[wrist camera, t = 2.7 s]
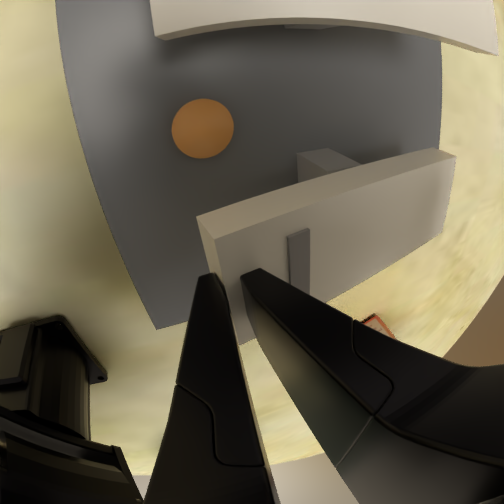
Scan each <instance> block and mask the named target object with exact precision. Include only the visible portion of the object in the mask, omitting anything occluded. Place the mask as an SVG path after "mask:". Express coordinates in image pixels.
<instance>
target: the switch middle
mask: <svg viewBox="0 0 504 504" xmlns="http://www.w3.org/2000/svg"><path fill="white" fill-rule="evenodd" d="M150 6H151V14H152V21H153V28H154V34H155V37H158V38H160V39H162V40H165V41H166V40H170V39H174V38H179V37H184V36H188V35H194V34H199V33H205V32H211V31H217V30H224V29H232V28H240V27H250V26H263V25H281V24H324V25H342V26H355V27H365V28H373V29H380V30H387V31H393V32H399V33H405V34H410V35H415V36H419V37H424V38H428V39H432V40H436V41H440V42H444V43H447V44H451V45H454V46H458V47H461V48H464V49H467V50H470V51H473V52H477V53H484V54H490V55H495V56H499V52H498V37H497V27H496V19H495V11H494V5H493V0H150Z"/></svg>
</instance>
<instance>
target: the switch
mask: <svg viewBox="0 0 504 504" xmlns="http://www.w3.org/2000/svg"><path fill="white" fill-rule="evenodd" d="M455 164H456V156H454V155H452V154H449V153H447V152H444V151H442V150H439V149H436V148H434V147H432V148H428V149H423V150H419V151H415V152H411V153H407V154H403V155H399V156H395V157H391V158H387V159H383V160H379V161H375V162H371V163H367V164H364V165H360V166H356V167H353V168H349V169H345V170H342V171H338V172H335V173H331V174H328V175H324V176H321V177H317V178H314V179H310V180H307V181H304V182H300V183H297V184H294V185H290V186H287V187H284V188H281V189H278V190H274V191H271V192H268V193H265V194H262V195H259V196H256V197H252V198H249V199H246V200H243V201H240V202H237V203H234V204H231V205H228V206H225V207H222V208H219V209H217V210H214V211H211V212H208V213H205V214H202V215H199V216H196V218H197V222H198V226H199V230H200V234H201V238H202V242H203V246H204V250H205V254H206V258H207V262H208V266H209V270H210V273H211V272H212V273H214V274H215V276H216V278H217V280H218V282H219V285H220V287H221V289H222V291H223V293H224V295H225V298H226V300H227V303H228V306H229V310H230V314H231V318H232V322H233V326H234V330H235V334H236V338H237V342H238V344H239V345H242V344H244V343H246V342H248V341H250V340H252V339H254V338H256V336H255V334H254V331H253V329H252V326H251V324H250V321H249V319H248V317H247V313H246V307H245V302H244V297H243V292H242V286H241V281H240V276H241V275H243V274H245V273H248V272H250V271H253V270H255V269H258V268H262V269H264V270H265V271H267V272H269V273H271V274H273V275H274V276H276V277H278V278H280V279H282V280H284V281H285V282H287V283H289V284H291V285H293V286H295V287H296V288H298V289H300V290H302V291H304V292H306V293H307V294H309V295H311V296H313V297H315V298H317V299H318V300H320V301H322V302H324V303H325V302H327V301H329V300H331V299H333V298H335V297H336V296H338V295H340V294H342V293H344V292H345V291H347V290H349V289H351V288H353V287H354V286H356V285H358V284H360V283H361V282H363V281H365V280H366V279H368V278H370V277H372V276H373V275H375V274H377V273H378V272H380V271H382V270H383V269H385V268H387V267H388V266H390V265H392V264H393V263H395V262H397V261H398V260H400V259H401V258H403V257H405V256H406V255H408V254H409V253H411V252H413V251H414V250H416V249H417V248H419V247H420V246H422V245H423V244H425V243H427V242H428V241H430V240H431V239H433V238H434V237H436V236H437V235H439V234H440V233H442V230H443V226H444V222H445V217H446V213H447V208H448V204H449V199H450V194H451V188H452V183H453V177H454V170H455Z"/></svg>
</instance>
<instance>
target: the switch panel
mask: <svg viewBox="0 0 504 504" xmlns="http://www.w3.org/2000/svg"><path fill="white" fill-rule="evenodd" d="M55 2H56V15H57V25H58V34H59V41H60V49H61V55H62V61H63V67H64V73H65V78H66V83H67V88H68V93H69V97H70V102H71V106H72V110H73V115H74V119H75V123H76V127H77V130H78V134H79V138H80V141H81V145H82V148H83V152H84V155H85V158H86V162H87V165H88V168H89V171H90V174H91V177H92V181H93V184H94V186H95V189H96V192H97V195H98V198H99V201H100V204H101V206H102V209H103V212H104V214H105V217H106V220H107V222H108V225H109V228H110V230H111V233H112V235H113V238H114V240H115V242H116V245H117V247H118V250H119V252H120V254H121V257H122V259H123V261H124V264H125V266H126V268H127V270H128V273H129V275H130V277H131V279H132V281H133V284H134V286H135V288H136V290H137V292H138V294H139V296H140V298H141V300H142V302H143V305H144V307H145V309H146V311H147V313H148V315H149V317H150V318H151V320H152V322H153V324H154V326H155V328H156V330H158V329H162V328H165V327H169V326H172V325H176V324H179V323H183V322H186V321H188V319H189V315H190V310H191V306H192V301H193V297H194V293H195V288H196V284H197V280H198V277H199V276H201V275H204V274H207V273H210V270H209V266H208V262H207V258H206V254H205V250H204V246H203V242H202V238H201V234H200V230H199V226H198V222H197V218H196V216H199V215H202V214H205V213H208V212H211V211H214V210H217V209H219V208H222V207H225V206H228V205H231V204H234V203H237V202H240V201H243V200H246V199H249V198H252V197H256V196H259V195H262V194H265V193H268V192H271V191H274V190H278V189H281V188H284V187H287V186H290V185H294V184H297V183H300V182H304V181H307V180H310V179H314V178H317V177H321V176H324V175H328V174H331V173H335V172H338V171H342V170H345V169H349V168H353V167H356V166H360V165H364V164H367V163H371V162H375V161H379V160H383V159H387V158H391V157H395V156H399V155H403V154H407V153H411V152H415V151H419V150H423V149H428V148H432V147H434V148H436V149H439V140H440V127H441V109H442V57H441V42H440V41H436V40H432V39H428V38H424V37H419V36H415V35H410V34H405V33H399V32H393V31H387V30H380V29H373V28H365V27H355V26H342V25H324V24H281V25H263V26H250V27H240V28H232V29H224V30H217V31H211V32H205V33H199V34H194V35H188V36H184V37H179V38H174V39H170V40H166V41H165V40H162V39H160V38H158V37H155V34H154V28H153V21H152V14H151V6H150V0H55Z"/></svg>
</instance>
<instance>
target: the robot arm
mask: <svg viewBox="0 0 504 504" xmlns="http://www.w3.org/2000/svg"><path fill="white" fill-rule="evenodd" d="M240 281H241V286H242V292H243V297H244V302H245V307H246V313H247V317H248V319H249V321H250V324H251V326H252V329H253V331H254V334H255V336H256V338H257V341H258V343H259V345H260V347H261V348H262V350H263V352H264V354H265V355H266V357H267V359H268V361H269V362H270V364H271V366H272V367H273V369H274V371H275V372H276V374H277V376H278V377H279V379H280V381H281V382H282V384H283V386H284V387H285V389H286V391H287V392H288V394H289V396H290V397H291V399H292V400H293V402H294V404H295V405H296V407H297V409H298V410H299V412H300V413H301V415H302V417H303V418H304V420H305V421H306V423H307V425H308V426H309V428H310V429H311V431H312V433H313V434H314V436H315V437H316V439H317V440H318V442H319V444H320V445H321V447H322V448H323V450H324V451H325V453H326V454H327V456H328V458H329V459H330V460H331V462H332V463H333V465H334V467H335V468H336V470H337V471H338V473H339V474H340V476H341V477H342V479H343V480H344V482H345V483H346V485H347V486H348V488H349V489H350V490H351V492H352V494H353V495H354V497H355V498H356V499H357V501H358V502H359V504H504V364H500V365H493V366H483V367H474V366H466V365H461V364H457V363H454V362H451V361H448V360H446V359H443V358H441V357H438V356H436V355H433V354H431V353H428V352H425V351H423V350H420V349H418V348H415V347H413V346H410V345H408V344H405V343H403V342H401V341H398V340H396V339H394V338H391V337H389V336H387V335H385V334H383V333H381V332H379V331H377V330H375V329H373V328H371V327H369V326H367V325H365V324H363V323H361V322H359V321H358V320H356V319H355V320H353V318H352V317H350V316H348V315H346V314H344V313H342V312H341V311H339V310H337V309H335V308H333V307H331V306H330V305H328V304H326V303H324V302H322V301H320V300H318V299H317V298H315V297H313V296H311V295H309V294H307V293H306V292H304V291H302V290H300V289H298V288H296V287H295V286H293V285H291V284H289V283H287V282H285V281H284V280H282V279H280V278H278V277H276V276H274V275H273V274H271V273H269V272H267V271H265V270H264V269H262V268H258V269H255V270H253V271H250V272H248V273H245V274H243V275H241V276H240ZM59 324H61V325H59ZM107 379H108V377H107V372H106V371H105V370H104V369H103V367H102V366H101V365H100V364H99V363H98V361H97V360H96V359H95V358H94V356H93V355H92V354H91V353H90V351H89V350H88V349H87V348H86V346H85V345H84V344H83V342H82V341H81V340H80V338H79V337H78V336H77V334H76V333H75V332H74V330H73V329H72V327H71V326H70V325H69V323H68V322H67V320H66V319H65V318H63V317H61V316H54V317H51V318H47V319H44V320H40V321H37V322H33V323H29V324H26V325H22V326H19V327H15V328H11V329H8V330H4V331H1V332H0V504H281V503H280V500H279V497H278V494H277V490H276V486H275V483H274V479H273V476H272V473H271V469H270V465H269V462H268V458H267V454H266V451H265V447H264V444H263V440H262V436H261V432H260V429H259V425H258V421H257V417H256V413H255V409H254V406H253V402H252V398H251V394H250V390H249V386H248V382H247V378H246V374H245V370H244V365H243V361H242V357H241V353H240V350H239V346H238V342H237V338H236V334H235V330H234V326H233V322H232V318H231V314H230V310H229V306H228V303H227V300H226V298H225V295H224V293H223V291H222V289H221V287H220V285H219V282H218V280H217V278H216V276H215V274H214V273H212V272H211V273H207V274H204V275H201V276H199V277H198V280H197V284H196V288H195V293H194V297H193V301H192V306H191V310H190V315H189V319H188V324H187V329H186V333H185V338H184V343H183V348H182V353H181V357H180V362H179V367H178V373H177V378H176V384H177V385H175V387H174V393H173V398H172V403H171V408H170V412H169V417H168V422H167V425H166V429H165V432H164V436H163V439H162V443H161V446H160V450H159V453H158V456H157V459H156V462H155V466H154V469H153V472H152V475H151V479H150V482H149V485H148V489H147V493H146V495H145V498H144V500H143V498H142V496H141V494H140V492H139V490H138V488H137V486H136V484H135V481H134V479H133V477H132V474H131V472H130V470H129V467H128V465H127V462H126V460H125V458H124V455H123V452H122V450H121V448H120V447H117V446H113V445H111V446H108V445H104V444H100V443H97V442H93V441H91V431H90V384H95V383H100V382H105V381H107Z"/></svg>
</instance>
